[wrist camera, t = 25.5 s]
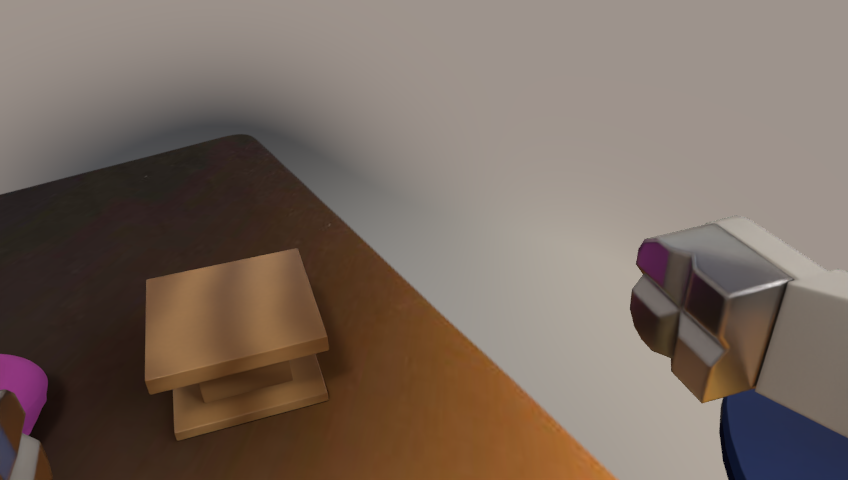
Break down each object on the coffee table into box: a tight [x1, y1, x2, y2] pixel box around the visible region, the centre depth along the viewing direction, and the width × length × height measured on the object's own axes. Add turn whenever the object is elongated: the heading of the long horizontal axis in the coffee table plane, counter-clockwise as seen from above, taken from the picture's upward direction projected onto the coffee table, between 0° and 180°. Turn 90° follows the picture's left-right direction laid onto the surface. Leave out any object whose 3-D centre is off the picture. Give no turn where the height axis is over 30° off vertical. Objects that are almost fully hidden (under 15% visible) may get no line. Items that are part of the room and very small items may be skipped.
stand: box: [145, 248, 329, 441], centre depth 47 cm, size 11×11×6 cm
